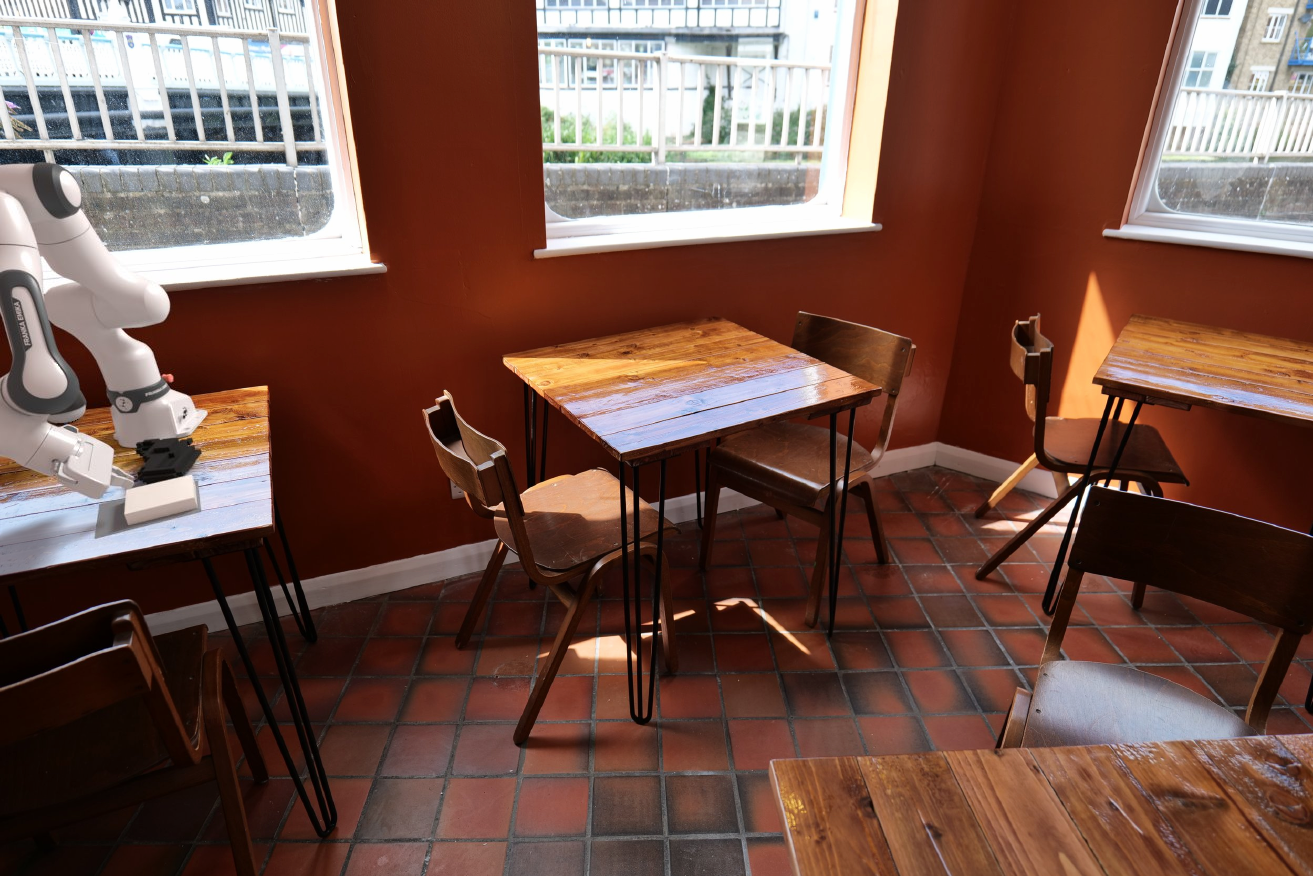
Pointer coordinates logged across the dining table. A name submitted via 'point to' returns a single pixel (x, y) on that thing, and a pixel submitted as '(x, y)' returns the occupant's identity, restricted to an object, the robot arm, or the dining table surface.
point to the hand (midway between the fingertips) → (132, 483)
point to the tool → (165, 458)
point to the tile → (160, 499)
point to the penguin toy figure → (70, 411)
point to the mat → (115, 521)
